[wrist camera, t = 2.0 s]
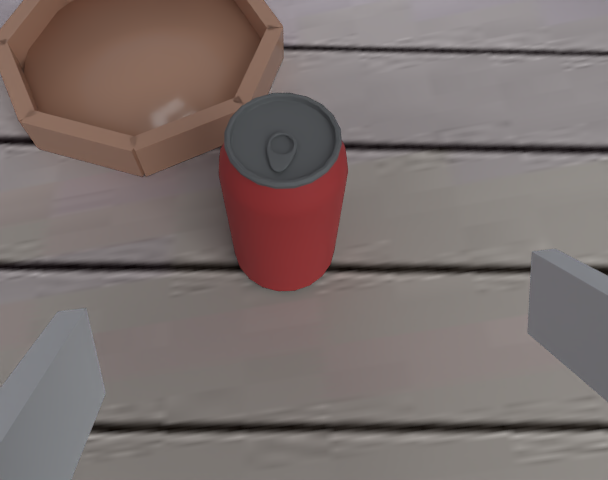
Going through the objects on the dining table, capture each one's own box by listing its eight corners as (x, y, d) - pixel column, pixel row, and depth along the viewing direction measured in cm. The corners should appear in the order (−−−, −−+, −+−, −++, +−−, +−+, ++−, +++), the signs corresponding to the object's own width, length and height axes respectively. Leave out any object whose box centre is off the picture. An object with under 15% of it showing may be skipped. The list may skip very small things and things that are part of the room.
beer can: (227, 289, 34) (199, 187, 23) (243, 202, 37) (225, 77, 26) (329, 300, 34) (348, 202, 23) (337, 212, 37) (357, 90, 26)
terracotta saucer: (212, -44, 49) (208, -75, 46) (319, 106, 41) (321, 78, 38) (-10, 26, 44) (-30, -6, 41) (62, 210, 36) (43, 186, 33)
